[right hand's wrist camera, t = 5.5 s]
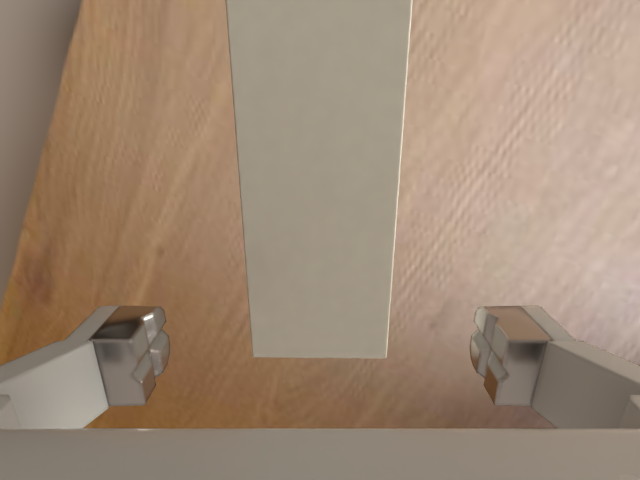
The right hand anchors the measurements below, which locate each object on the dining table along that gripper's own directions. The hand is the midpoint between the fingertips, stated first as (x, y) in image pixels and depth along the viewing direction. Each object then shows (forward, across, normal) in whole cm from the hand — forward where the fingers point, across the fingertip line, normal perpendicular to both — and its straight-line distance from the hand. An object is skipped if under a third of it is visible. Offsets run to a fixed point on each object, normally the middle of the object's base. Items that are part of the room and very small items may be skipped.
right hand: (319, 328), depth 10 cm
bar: (+12, 0, -10) cm, 16 cm away
